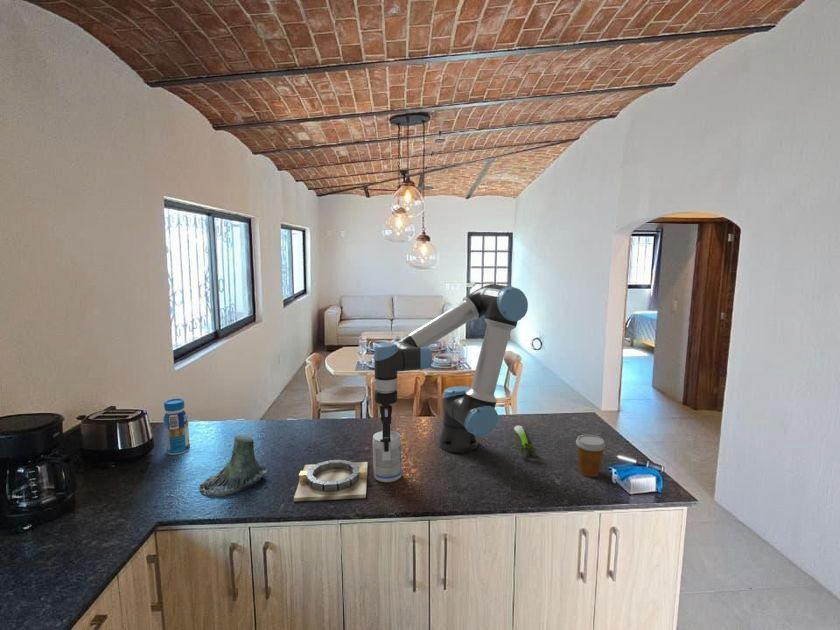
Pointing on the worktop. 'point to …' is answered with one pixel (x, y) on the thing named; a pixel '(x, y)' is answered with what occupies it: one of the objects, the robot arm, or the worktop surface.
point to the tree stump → (235, 471)
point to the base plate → (332, 475)
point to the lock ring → (332, 485)
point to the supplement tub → (387, 468)
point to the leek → (524, 439)
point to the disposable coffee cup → (589, 454)
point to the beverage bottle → (176, 427)
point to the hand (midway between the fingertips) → (386, 450)
